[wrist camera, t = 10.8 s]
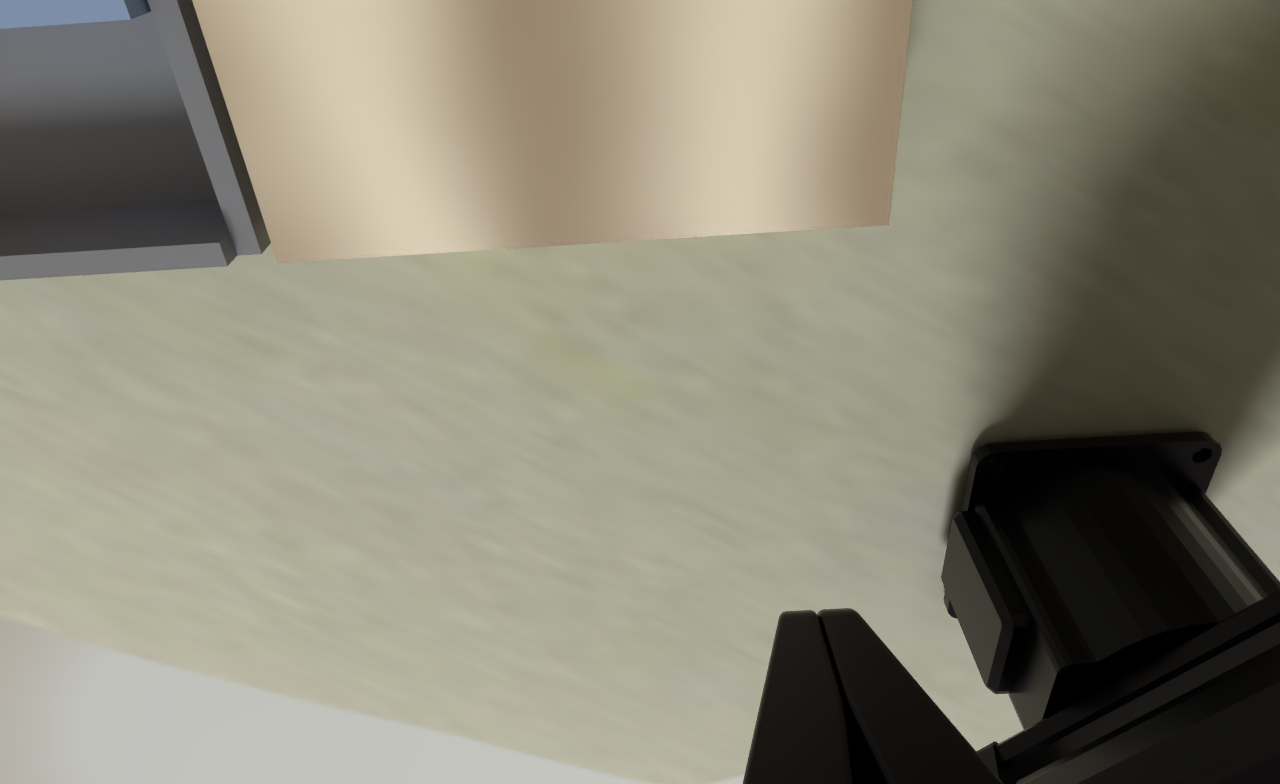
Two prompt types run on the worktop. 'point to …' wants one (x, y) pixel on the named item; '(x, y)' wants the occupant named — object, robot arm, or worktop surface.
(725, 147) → the birch board
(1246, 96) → the worktop surface
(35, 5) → the blue-glazed tile
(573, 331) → the worktop surface
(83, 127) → the charcoal tray
